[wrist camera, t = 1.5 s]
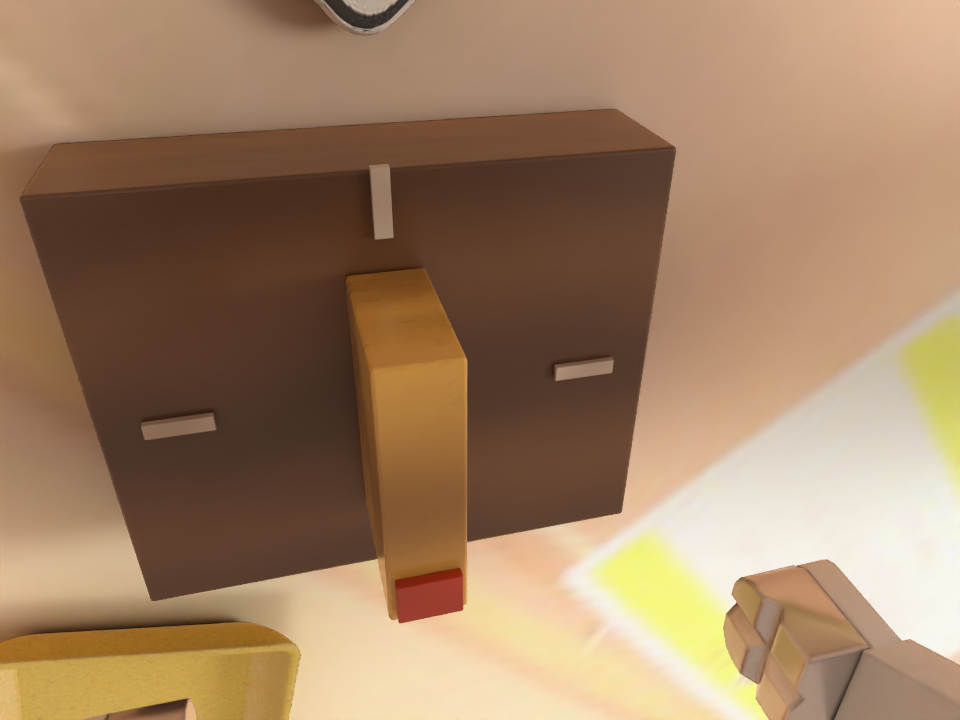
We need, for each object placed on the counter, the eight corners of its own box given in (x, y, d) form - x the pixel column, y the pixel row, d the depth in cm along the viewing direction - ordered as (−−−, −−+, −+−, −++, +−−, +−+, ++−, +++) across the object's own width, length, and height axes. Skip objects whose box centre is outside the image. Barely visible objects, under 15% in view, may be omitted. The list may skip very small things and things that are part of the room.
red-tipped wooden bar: (344, 274, 15) (372, 379, 12) (425, 265, 15) (472, 365, 12) (365, 503, 18) (391, 632, 15) (432, 492, 18) (471, 615, 15)
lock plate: (50, 137, 15) (13, 194, 13) (617, 103, 18) (682, 144, 15) (161, 518, 21) (151, 611, 18) (581, 447, 23) (624, 520, 21)
